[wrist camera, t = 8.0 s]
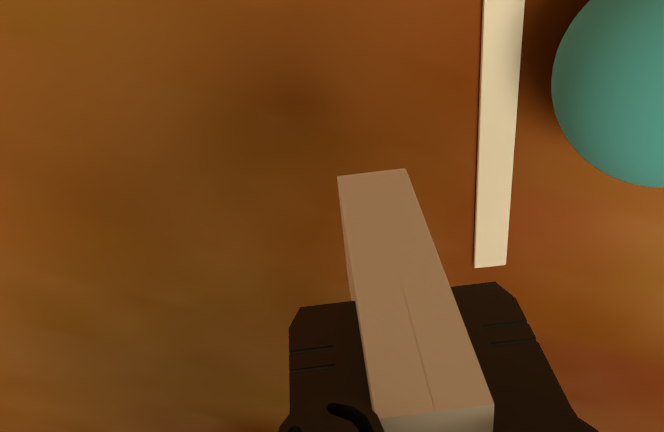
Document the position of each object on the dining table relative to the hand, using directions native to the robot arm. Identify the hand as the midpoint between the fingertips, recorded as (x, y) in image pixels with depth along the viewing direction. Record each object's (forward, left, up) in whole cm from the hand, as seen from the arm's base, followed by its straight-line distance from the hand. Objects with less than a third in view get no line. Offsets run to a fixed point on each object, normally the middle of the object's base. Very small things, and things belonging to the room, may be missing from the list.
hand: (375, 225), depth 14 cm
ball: (+8, -3, -4) cm, 10 cm away
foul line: (+5, -2, -7) cm, 9 cm away
